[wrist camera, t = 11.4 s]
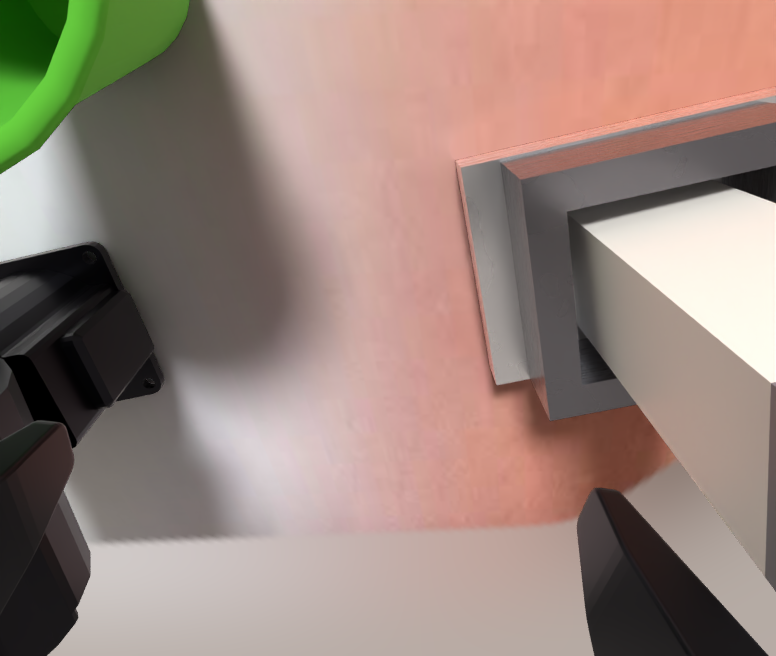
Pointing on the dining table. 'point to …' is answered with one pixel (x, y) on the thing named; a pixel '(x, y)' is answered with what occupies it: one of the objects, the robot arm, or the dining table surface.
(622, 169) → the socket
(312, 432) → the dining table surface
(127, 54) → the cup
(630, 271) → the plug
